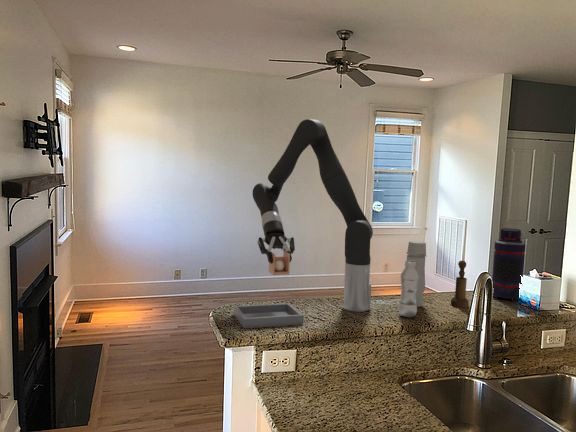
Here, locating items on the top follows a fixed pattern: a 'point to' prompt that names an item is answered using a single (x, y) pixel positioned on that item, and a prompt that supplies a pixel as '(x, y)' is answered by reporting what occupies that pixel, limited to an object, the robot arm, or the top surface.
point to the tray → (268, 315)
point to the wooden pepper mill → (460, 288)
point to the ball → (279, 265)
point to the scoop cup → (285, 260)
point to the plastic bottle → (408, 290)
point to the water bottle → (418, 266)
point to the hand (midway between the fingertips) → (280, 262)
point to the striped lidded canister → (508, 264)
